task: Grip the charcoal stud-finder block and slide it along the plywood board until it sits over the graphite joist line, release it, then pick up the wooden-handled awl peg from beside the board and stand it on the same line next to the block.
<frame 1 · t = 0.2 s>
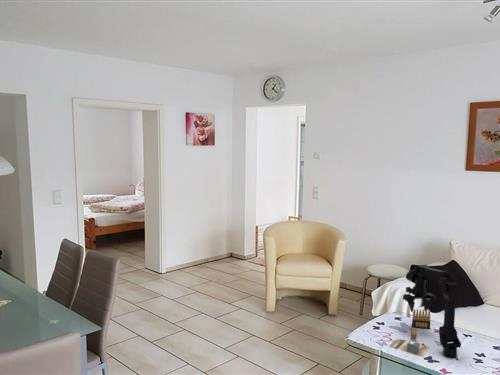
hand: (418, 311, 244), 14 cm above the table, fingers open, 9 cm apart
board: (409, 349, 226), on the table
ammunition clip: (420, 328, 255), on the table
finder: (413, 351, 221), point 1 cm above the table, touching board
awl: (413, 341, 236), on the table
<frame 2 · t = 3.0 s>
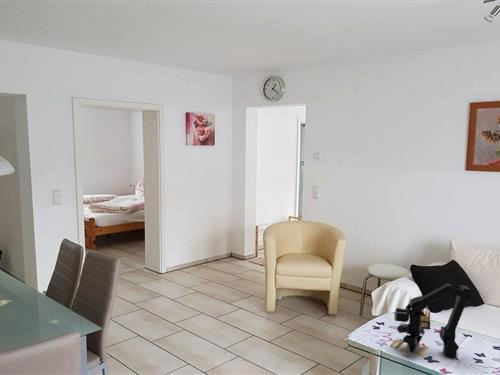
hand: (413, 350, 221), 2 cm above the table, fingers closed on finder, 5 cm apart
finder: (413, 351, 221), point 1 cm above the table, touching board, gripper
everything else where it was.
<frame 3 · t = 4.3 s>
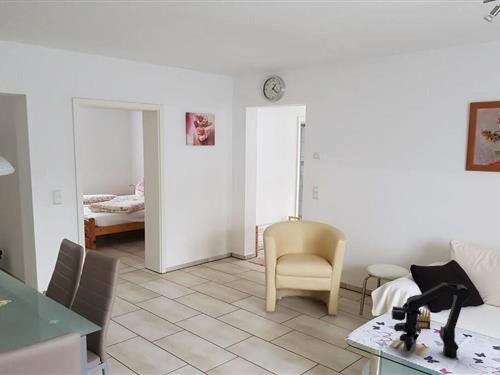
hand: (409, 348, 222), 2 cm above the table, fingers closed on finder, 5 cm apart
finder: (409, 349, 222), point 2 cm above the table, touching gripper
everything else where it was.
when the fingers open (2 cm above the table, at t = 6.0 s): finder stays where it is, resting on board.
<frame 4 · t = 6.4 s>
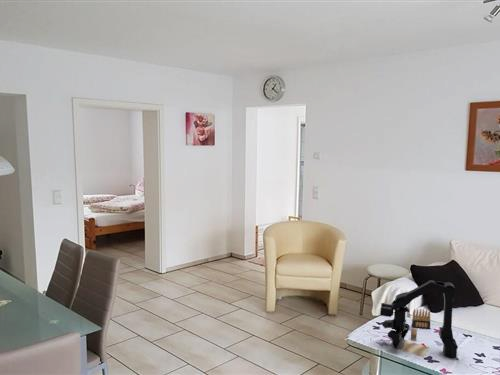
hand: (397, 345, 226), 2 cm above the table, fingers open, 9 cm apart
finder: (397, 346, 226), point 1 cm above the table, touching board
everything else where it was.
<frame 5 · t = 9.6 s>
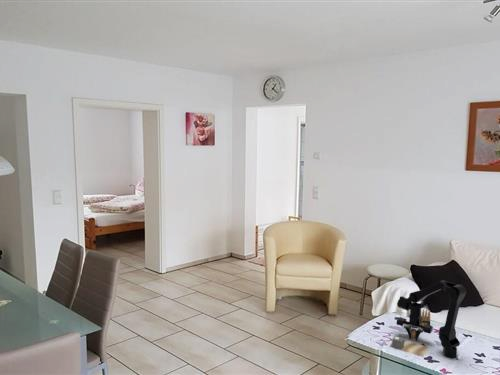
hand: (413, 339, 236), 1 cm above the table, fingers closed on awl, 3 cm apart
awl: (413, 341, 236), on the table, touching gripper
everything else where it was.
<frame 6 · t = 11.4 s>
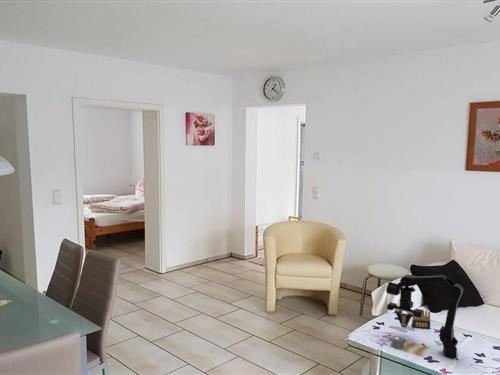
hand: (403, 324, 232), 11 cm above the table, fingers closed on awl, 3 cm apart
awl: (403, 326, 232), point 10 cm above the table, touching gripper
everything else where it was.
when the fingers open (3 cm above the table, at t = 13.0 s): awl stays where it is, resting on board.
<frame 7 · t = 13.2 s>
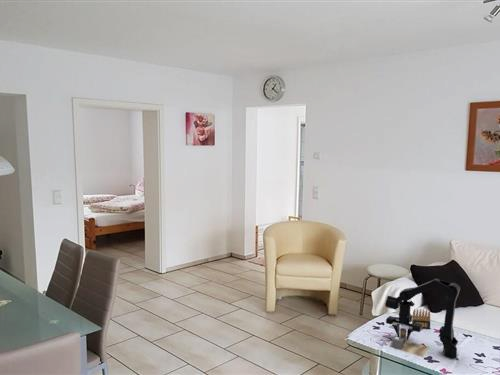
hand: (402, 338, 233), 3 cm above the table, fingers open, 5 cm apart
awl: (402, 341, 233), point 1 cm above the table, touching board
everything else where it was.
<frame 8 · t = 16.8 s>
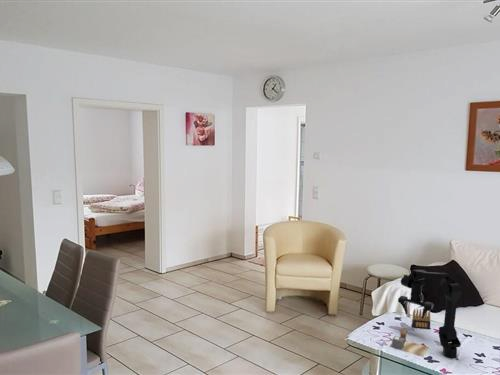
hand: (414, 316, 242), 12 cm above the table, fingers open, 9 cm apart
nothing on the table moved.
at the end: finder 0.1 cm from the target spot on the board, point 1.2 cm above the board's base; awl 0.1 cm from the target spot on the board, point 1.2 cm above the board's base; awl tilted 0° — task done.
